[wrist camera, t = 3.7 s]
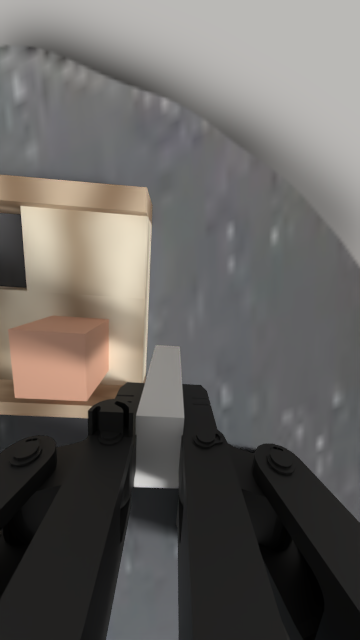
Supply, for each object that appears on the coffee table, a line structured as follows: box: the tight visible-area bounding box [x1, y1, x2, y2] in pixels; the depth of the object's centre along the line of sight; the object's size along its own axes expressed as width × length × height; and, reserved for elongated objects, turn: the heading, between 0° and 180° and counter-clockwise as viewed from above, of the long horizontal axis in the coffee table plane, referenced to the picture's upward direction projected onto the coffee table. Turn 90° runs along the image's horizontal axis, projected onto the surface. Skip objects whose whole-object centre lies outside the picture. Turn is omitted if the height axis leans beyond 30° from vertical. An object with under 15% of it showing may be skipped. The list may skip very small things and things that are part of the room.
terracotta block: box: [8, 316, 109, 401], centre depth 15 cm, size 4×4×4 cm
